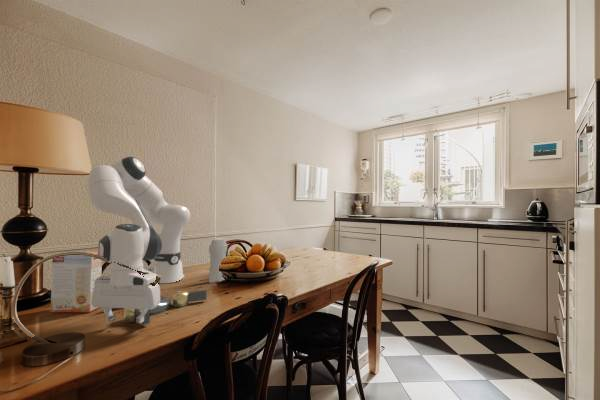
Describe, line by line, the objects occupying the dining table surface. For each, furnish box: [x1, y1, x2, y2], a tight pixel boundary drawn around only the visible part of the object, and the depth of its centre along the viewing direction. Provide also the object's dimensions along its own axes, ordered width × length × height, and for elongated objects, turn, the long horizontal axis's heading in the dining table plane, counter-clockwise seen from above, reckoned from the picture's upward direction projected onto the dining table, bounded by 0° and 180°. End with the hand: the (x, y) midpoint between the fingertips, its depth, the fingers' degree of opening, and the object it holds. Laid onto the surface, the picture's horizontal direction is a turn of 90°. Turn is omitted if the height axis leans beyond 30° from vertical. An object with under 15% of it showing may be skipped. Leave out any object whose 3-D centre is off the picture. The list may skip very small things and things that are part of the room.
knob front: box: [123, 308, 151, 326], centre depth 90 cm, size 12×6×4 cm, turn 54°
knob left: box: [172, 289, 207, 308], centre depth 108 cm, size 12×6×4 cm, turn 117°
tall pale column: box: [208, 237, 228, 284], centre depth 142 cm, size 11×4×22 cm, turn 140°
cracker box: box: [50, 251, 103, 313], centre depth 100 cm, size 14×6×21 cm, turn 90°
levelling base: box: [148, 295, 172, 316], centre depth 102 cm, size 13×13×5 cm
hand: (125, 321), depth 85 cm, fingers open, 8 cm apart
